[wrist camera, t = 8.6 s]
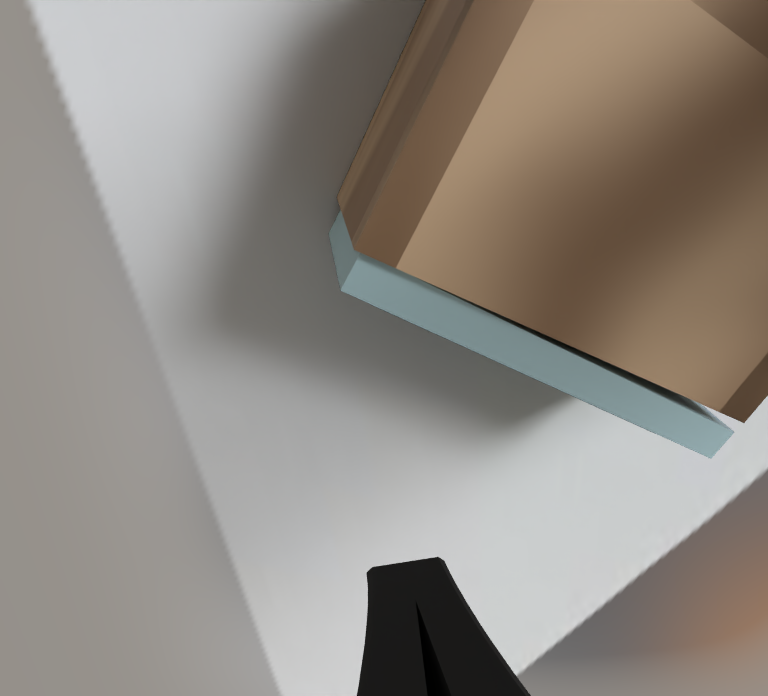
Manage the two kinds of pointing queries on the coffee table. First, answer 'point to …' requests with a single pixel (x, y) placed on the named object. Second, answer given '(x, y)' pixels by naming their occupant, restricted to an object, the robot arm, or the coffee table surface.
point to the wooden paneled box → (586, 179)
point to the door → (525, 349)
